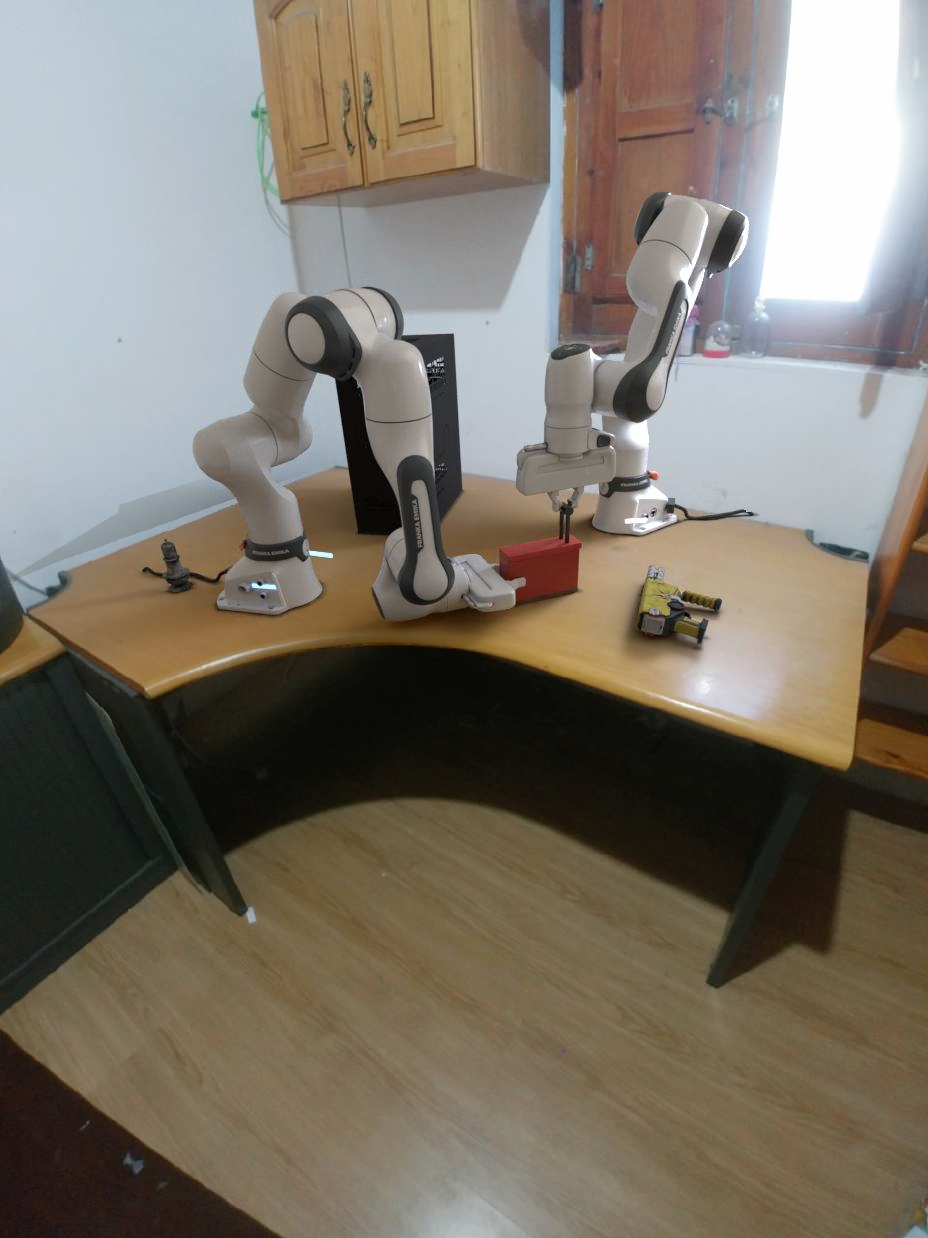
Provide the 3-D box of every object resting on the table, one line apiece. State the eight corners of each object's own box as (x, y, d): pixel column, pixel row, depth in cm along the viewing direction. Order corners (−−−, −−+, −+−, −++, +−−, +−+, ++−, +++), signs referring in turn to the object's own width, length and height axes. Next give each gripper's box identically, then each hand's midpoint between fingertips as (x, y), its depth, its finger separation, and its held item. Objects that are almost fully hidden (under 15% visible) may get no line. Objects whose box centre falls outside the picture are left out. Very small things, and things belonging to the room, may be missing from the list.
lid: (569, 539, 127) (571, 498, 123) (581, 548, 123) (583, 505, 119) (498, 553, 123) (497, 511, 118) (508, 562, 119) (508, 519, 114)
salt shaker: (184, 593, 136) (168, 544, 130) (161, 592, 138) (145, 543, 132) (199, 581, 141) (184, 533, 135) (177, 580, 143) (161, 533, 137)
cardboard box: (429, 535, 159) (413, 350, 136) (357, 532, 163) (331, 352, 141) (462, 490, 190) (453, 333, 168) (401, 488, 195) (385, 335, 172)
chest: (566, 581, 132) (567, 539, 127) (577, 591, 128) (579, 548, 123) (499, 596, 128) (498, 553, 123) (509, 606, 124) (508, 563, 119)
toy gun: (723, 575, 124) (648, 562, 128) (727, 629, 104) (638, 612, 108) (717, 595, 126) (644, 582, 130) (720, 652, 106) (633, 634, 110)
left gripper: (471, 595, 110) (540, 580, 114) (437, 554, 127) (498, 542, 131) (473, 625, 113) (539, 609, 117) (439, 581, 130) (499, 569, 134)
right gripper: (524, 450, 108) (524, 523, 115) (622, 435, 114) (617, 505, 121) (510, 443, 113) (511, 512, 120) (605, 429, 119) (600, 496, 126)
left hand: (517, 574), depth 124 cm, fingers closed on chest, 5 cm apart
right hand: (565, 509), depth 121 cm, fingers closed on lid, 2 cm apart
